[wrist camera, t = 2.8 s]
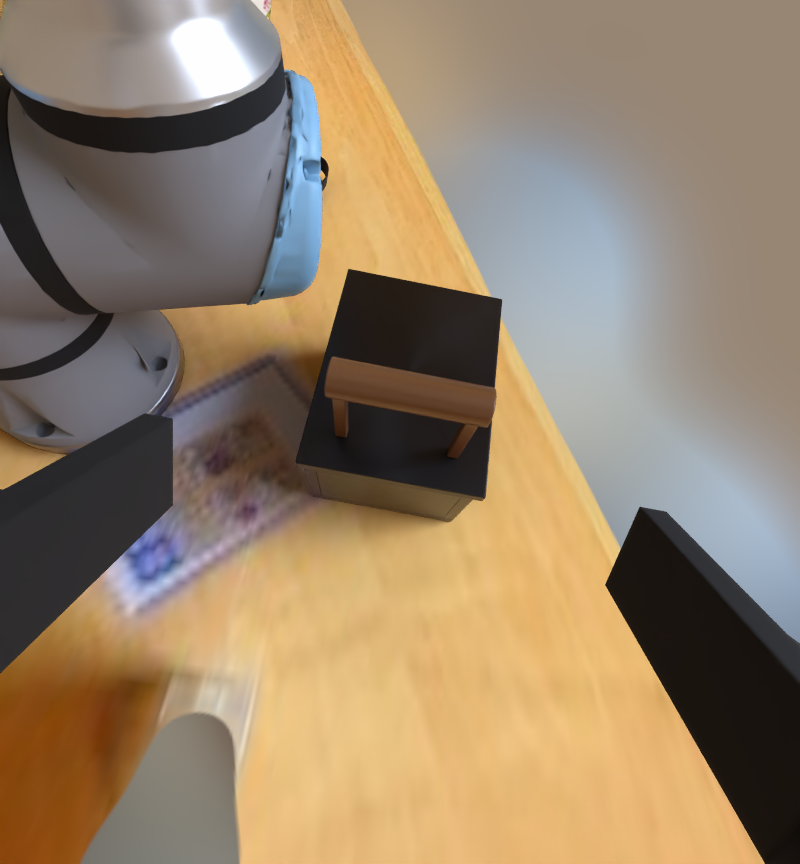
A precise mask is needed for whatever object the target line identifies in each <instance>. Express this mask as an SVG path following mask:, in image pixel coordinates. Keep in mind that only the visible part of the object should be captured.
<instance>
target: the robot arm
mask: <svg viewBox="0 0 800 864" xmlns="http://www.w3.org/2000/svg"><path fill="white" fill-rule="evenodd" d="M0 70H1V72H2V74H3V75H0V428H1V429H2V430H3V431H5V432H6V433H8V434H9V435H11V436H13V437H15V438H16V439H18V440H20V441H22V442H24V443H26V444H28V445H30V446H32V447H35V448H38V449H41V450H45V451H50V452H57V453H70V454H69V455H67V456H65V457H63V458H61V459H59V460H57V461H56V462H54V463H52V464H50V465H48V466H46V467H45V468H43V469H41V470H39V471H37V472H35V473H33V474H32V475H30V476H28V477H26V478H24V479H22V480H21V481H19V482H17V483H15V484H13V485H11V486H10V487H8V488H6V489H4V490H2V489H0V673H1V672H2V671H3V670H4V669H5V668H6V667H7V666H8V665H9V664H10V663H11V662H12V661H13V660H15V659H16V658H17V657H18V656H19V655H20V654H21V653H22V652H23V651H24V650H25V649H26V648H27V647H28V646H29V645H30V644H31V643H32V642H33V641H34V640H35V639H36V638H37V637H38V636H39V635H40V634H41V633H42V632H43V631H44V630H45V629H46V628H47V627H48V626H49V625H50V624H51V623H52V622H53V621H55V620H56V619H57V618H58V617H59V616H60V615H61V614H62V613H63V612H64V611H65V610H66V609H67V608H68V607H69V606H70V605H71V604H72V603H73V602H74V601H75V600H76V599H77V598H78V597H79V596H80V595H81V594H82V593H83V592H84V591H85V590H86V589H87V588H88V587H89V586H90V585H91V584H92V583H93V582H95V581H96V580H97V579H98V578H99V577H100V576H101V575H102V574H103V573H104V572H105V571H106V570H107V569H108V568H109V567H110V566H111V565H112V564H113V563H114V562H115V561H116V560H117V559H118V558H119V557H120V556H121V555H122V554H123V553H124V552H125V551H126V550H127V549H128V548H129V547H130V546H131V545H132V544H133V543H134V542H136V541H137V540H138V539H139V538H140V537H141V536H142V535H143V534H144V533H145V532H146V531H147V530H148V529H149V528H150V527H151V526H152V525H153V524H154V523H155V522H156V521H157V520H158V519H159V518H160V517H161V516H162V515H163V514H164V513H165V512H166V511H167V510H168V509H169V508H170V507H171V506H172V505H173V419H172V418H167V417H162V416H160V415H161V414H162V413H163V412H164V411H165V410H166V408H167V407H168V406H169V404H170V403H171V402H172V400H173V398H174V397H175V395H176V393H177V391H178V389H179V387H180V384H181V381H182V377H183V373H184V352H183V348H182V344H181V342H180V339H179V337H178V336H177V334H176V332H175V330H174V329H173V327H172V325H171V324H170V322H169V321H168V320H167V318H166V317H165V316H164V315H163V314H162V313H161V312H160V311H159V310H160V309H174V308H188V307H203V306H217V305H231V304H245V303H246V304H247V305H252V304H256V303H258V302H259V301H261V300H268V299H275V298H282V297H289V296H295V295H297V294H299V293H302V292H303V291H304V290H306V289H307V288H308V287H309V286H310V285H311V283H312V282H313V280H314V278H315V276H316V272H317V268H318V263H319V256H320V247H321V231H322V183H321V179H320V175H319V174H320V171H321V163H320V159H321V139H320V126H319V116H318V108H317V102H316V97H315V93H314V89H313V86H312V84H311V83H310V81H309V80H308V79H307V78H306V77H304V76H301V75H297V74H296V73H295V72H294V71H293V70H290V71H289V70H284V67H283V59H282V51H281V43H280V38H279V34H278V32H277V30H276V28H275V27H274V25H273V24H272V23H271V21H270V20H269V19H268V18H267V17H266V16H265V15H264V14H263V13H262V12H261V11H260V10H259V9H258V8H257V6H256V5H255V4H254V3H253V2H252V1H251V0H5V6H4V9H3V12H2V16H1V19H0ZM605 585H606V587H607V589H608V591H609V592H610V594H611V596H612V598H613V599H614V601H615V603H616V605H617V606H618V608H619V610H620V612H621V613H622V615H623V617H624V619H625V620H626V622H627V624H628V625H629V627H630V629H631V631H632V632H633V634H634V636H635V638H636V639H637V641H638V643H639V645H640V646H641V648H642V650H643V652H644V653H645V655H646V657H647V659H648V660H649V662H650V664H651V666H652V667H653V669H654V671H655V673H656V674H657V676H658V678H659V680H660V681H661V683H662V685H663V687H664V688H665V690H666V692H667V693H668V695H669V697H670V699H671V700H672V702H673V704H674V706H675V707H676V709H677V711H678V713H679V714H680V716H681V718H682V720H683V721H684V723H685V725H686V727H687V728H688V730H689V732H690V734H691V735H692V737H693V739H694V741H695V742H696V744H697V746H698V748H699V749H700V751H701V753H702V755H703V756H704V758H705V760H706V761H707V763H708V765H709V767H710V768H711V770H712V772H713V774H714V775H715V777H716V779H717V781H718V782H719V784H720V786H721V788H722V789H723V791H724V793H725V795H726V796H727V798H728V800H729V802H730V803H731V805H732V807H733V809H734V810H735V812H736V814H737V816H738V817H739V819H740V821H741V822H742V824H743V826H744V828H745V829H746V831H747V833H748V835H749V836H750V838H751V840H752V842H753V843H754V845H755V847H756V849H757V850H758V852H759V854H760V856H761V857H762V859H763V861H764V863H765V864H800V643H798V642H797V641H795V640H794V639H793V638H791V637H790V636H789V635H787V634H786V633H785V632H784V631H783V630H782V629H781V628H780V627H779V626H778V624H777V623H776V622H774V621H773V620H772V618H770V617H769V615H767V614H766V612H765V611H764V610H763V609H762V608H761V607H760V606H759V605H758V604H757V603H756V602H755V601H754V600H753V599H752V598H751V597H750V596H749V595H748V594H747V593H746V592H745V591H744V590H743V589H742V588H741V587H740V586H739V585H738V584H737V583H736V582H735V581H734V580H733V579H732V578H731V577H730V576H729V575H728V574H727V573H726V572H725V571H724V570H723V569H722V568H721V567H720V566H719V565H718V564H717V563H716V562H715V561H714V560H713V559H712V558H711V557H710V556H709V555H708V554H707V553H706V552H705V551H704V550H703V549H702V548H701V547H700V546H699V545H698V544H697V542H696V541H695V540H694V539H693V538H692V537H690V536H689V534H688V533H687V532H686V531H685V530H683V528H682V527H681V526H680V525H679V524H678V523H677V522H676V521H675V520H674V519H673V518H672V517H671V516H670V515H669V514H668V513H667V512H664V511H659V510H654V509H648V508H643V507H639V510H638V512H637V514H636V517H635V519H634V521H633V523H632V526H631V528H630V530H629V532H628V535H627V537H626V539H625V541H624V544H623V546H622V548H621V550H620V553H619V555H618V557H617V559H616V562H615V564H614V566H613V568H612V571H611V573H610V575H609V577H608V580H607V582H606V584H605Z"/></svg>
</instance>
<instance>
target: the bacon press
mask: <svg viewBox="0 0 800 864" xmlns="http://www.w3.org/2000/svg"><path fill="white" fill-rule="evenodd" d="M501 307H502V300H501V299H498V298H493V297H488V296H482V295H477V294H472V293H467V292H462V291H457V290H452V289H447V288H442V287H437V286H432V285H427V284H422V283H417V282H412V281H407V280H402V279H397V278H392V277H387V276H382V275H376V274H371V273H366V272H361V271H356V270H351V269H349V270H348V273H347V276H346V280H345V284H344V287H343V291H342V294H341V298H340V302H339V305H338V309H337V313H336V316H335V320H334V323H333V327H332V331H331V334H330V338H329V342H328V345H327V349H326V353H325V356H324V360H323V363H322V367H321V371H320V374H319V378H318V382H317V385H316V389H315V392H314V396H313V400H312V403H311V407H310V411H309V414H308V418H307V421H306V425H305V429H304V432H303V436H302V440H301V443H300V447H299V450H298V454H297V458H296V461H295V463H296V466H297V467H301V468H306V469H311V470H317V471H322V472H327V473H333V474H338V475H344V476H349V477H354V478H360V479H365V480H371V481H376V482H381V483H387V484H392V485H397V486H403V487H408V488H414V489H419V490H424V491H430V492H435V493H441V494H446V495H451V496H457V497H462V498H467V499H473V500H478V501H483V500H484V499H485V497H486V486H487V474H488V462H489V450H490V438H491V426H492V417H493V414H494V410H495V405H496V389H495V378H496V366H497V355H498V343H499V331H500V319H501Z"/></svg>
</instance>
